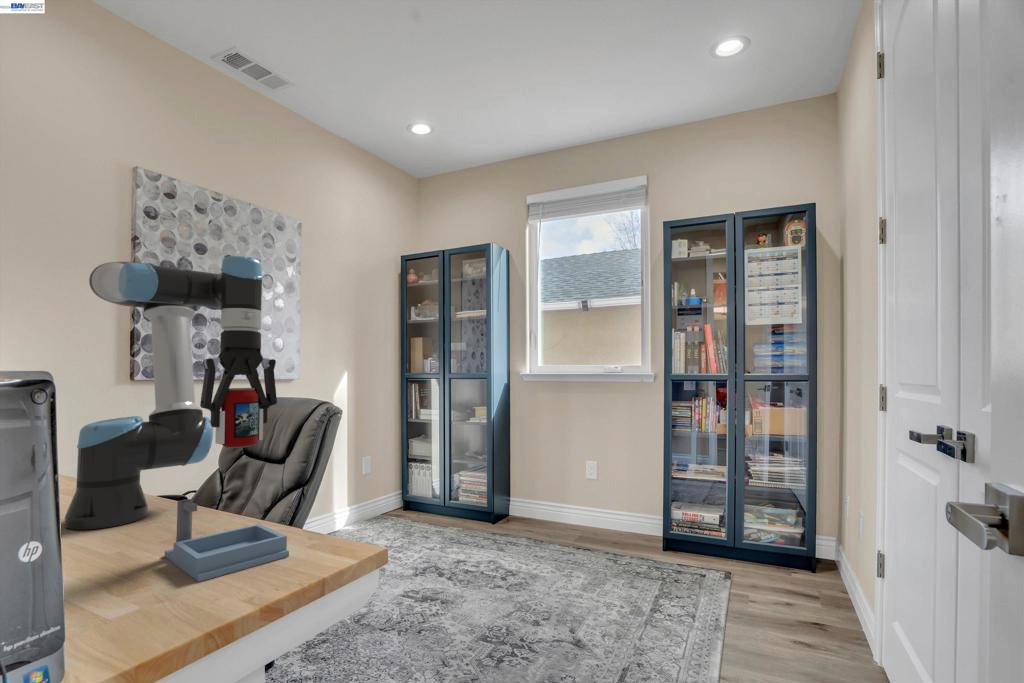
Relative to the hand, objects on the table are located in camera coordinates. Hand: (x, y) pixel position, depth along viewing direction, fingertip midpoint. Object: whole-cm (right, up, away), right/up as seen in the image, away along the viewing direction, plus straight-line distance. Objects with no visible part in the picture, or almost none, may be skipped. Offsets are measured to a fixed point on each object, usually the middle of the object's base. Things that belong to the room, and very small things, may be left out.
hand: (239, 441), depth 105 cm
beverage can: (0, -1, 0) cm, 1 cm away
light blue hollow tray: (+3, -19, -10) cm, 22 cm away
